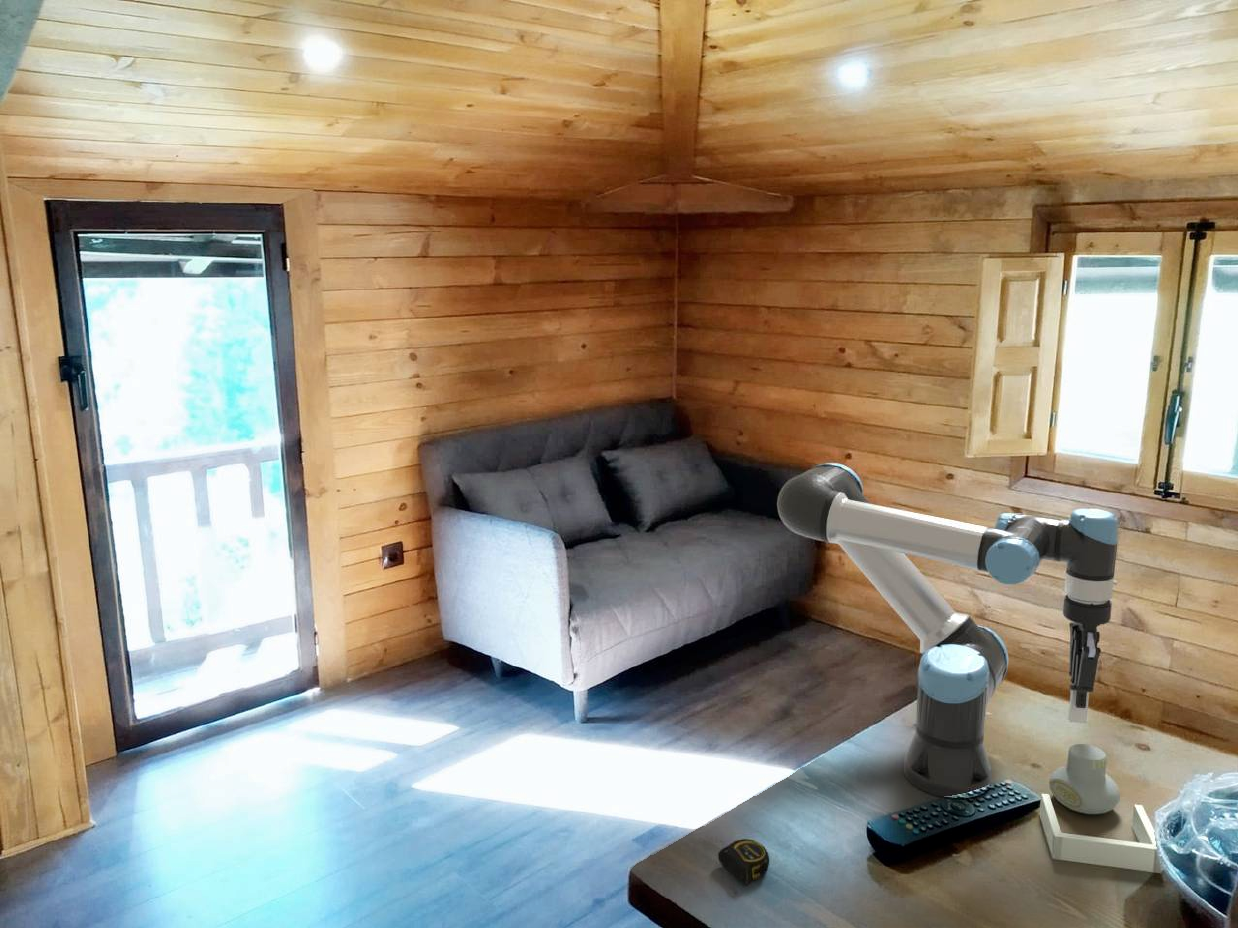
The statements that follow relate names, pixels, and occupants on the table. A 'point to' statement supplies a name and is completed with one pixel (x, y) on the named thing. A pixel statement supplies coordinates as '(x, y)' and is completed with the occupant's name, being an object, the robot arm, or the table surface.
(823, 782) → the table surface
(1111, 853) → the dock
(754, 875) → the tape measure
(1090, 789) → the air freshener
